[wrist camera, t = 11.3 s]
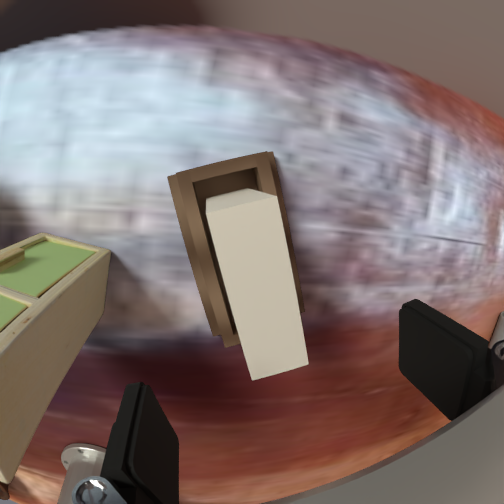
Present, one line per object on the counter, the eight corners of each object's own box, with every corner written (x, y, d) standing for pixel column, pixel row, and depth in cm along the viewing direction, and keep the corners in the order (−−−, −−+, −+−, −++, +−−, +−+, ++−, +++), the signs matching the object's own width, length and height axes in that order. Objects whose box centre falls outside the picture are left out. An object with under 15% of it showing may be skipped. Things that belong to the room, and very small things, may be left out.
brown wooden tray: (301, 307, 30) (313, 322, 26) (212, 331, 29) (214, 350, 26) (270, 152, 26) (279, 148, 22) (168, 176, 25) (162, 176, 22)
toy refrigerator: (115, 241, 26) (-38, 380, 5) (106, 313, 27) (11, 490, 7) (43, 222, 24) (-131, 303, 4) (38, 292, 25) (-90, 419, 5)
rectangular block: (279, 294, 28) (320, 360, 17) (234, 306, 28) (252, 380, 17) (255, 186, 25) (291, 192, 15) (206, 198, 25) (205, 213, 14)
